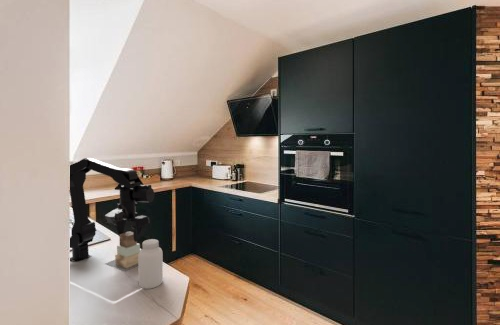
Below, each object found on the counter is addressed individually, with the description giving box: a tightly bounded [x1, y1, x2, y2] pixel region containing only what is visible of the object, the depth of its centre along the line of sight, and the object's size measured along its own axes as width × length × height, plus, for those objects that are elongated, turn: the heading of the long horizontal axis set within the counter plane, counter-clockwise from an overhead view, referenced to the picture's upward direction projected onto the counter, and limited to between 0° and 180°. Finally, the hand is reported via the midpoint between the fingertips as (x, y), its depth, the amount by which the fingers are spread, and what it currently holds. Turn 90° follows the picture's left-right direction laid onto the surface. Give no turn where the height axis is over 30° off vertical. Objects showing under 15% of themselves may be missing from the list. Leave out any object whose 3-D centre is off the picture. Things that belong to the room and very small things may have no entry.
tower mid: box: [116, 242, 141, 257], centre depth 111 cm, size 6×6×4 cm
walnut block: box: [118, 231, 138, 247], centre depth 110 cm, size 4×4×4 cm
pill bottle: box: [137, 238, 164, 290], centre depth 95 cm, size 8×8×15 cm
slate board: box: [104, 259, 138, 272], centre depth 111 cm, size 13×10×1 cm
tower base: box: [114, 253, 139, 268], centre depth 111 cm, size 7×7×4 cm
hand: (128, 239), depth 110 cm, fingers open, 9 cm apart
